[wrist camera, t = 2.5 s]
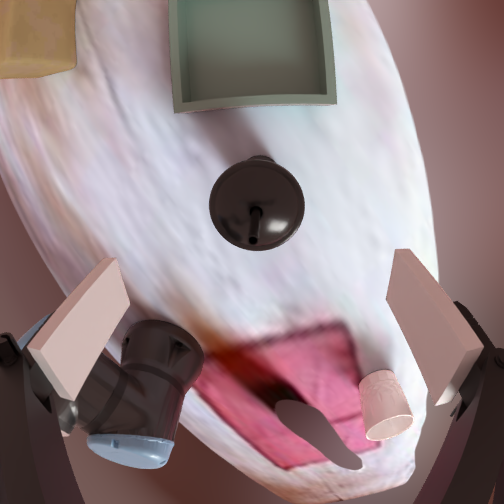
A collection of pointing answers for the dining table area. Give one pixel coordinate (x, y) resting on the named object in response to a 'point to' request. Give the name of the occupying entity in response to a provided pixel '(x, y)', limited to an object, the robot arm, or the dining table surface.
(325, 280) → the dining table surface
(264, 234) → the drinking cup
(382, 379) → the white cup
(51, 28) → the cheese
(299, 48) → the grey-green shallow box
